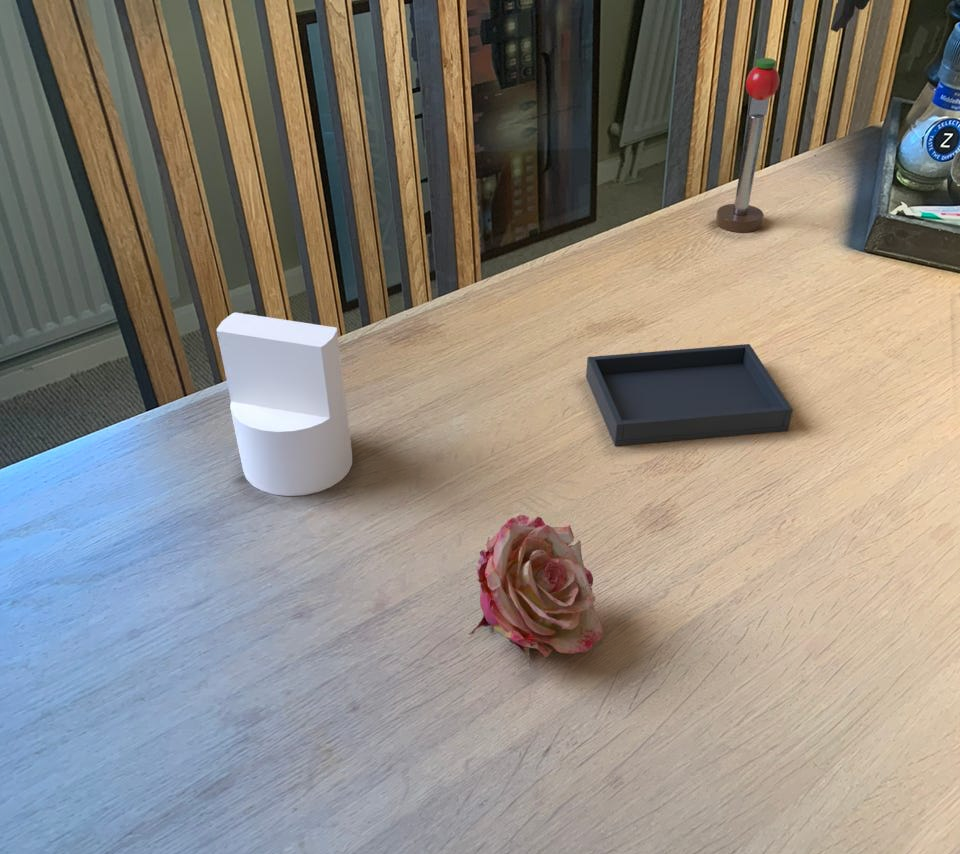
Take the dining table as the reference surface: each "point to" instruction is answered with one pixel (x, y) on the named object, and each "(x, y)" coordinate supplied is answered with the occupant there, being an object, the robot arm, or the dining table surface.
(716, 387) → the tray
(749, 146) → the red ball topped stand
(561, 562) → the flower
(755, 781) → the dining table surface
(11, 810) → the dining table surface
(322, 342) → the base with upright slab
